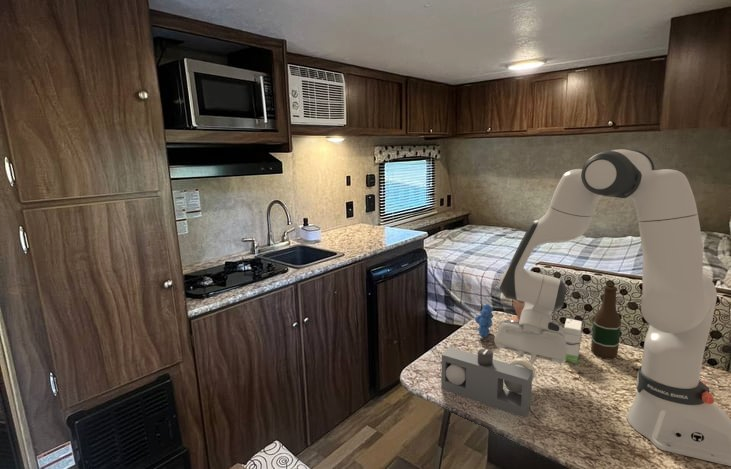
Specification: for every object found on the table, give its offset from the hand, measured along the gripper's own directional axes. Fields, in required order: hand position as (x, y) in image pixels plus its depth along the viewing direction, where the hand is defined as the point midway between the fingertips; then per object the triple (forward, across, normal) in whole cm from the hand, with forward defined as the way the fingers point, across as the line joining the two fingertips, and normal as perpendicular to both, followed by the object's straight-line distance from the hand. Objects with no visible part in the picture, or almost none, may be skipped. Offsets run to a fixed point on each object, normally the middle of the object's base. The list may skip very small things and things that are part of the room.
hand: (524, 368), depth 115 cm
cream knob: (+7, 0, -2) cm, 7 cm away
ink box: (-14, +9, +22) cm, 28 cm away
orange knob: (+10, -15, -6) cm, 19 cm away
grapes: (-14, -21, +22) cm, 34 cm away
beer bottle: (-20, +18, +28) cm, 39 cm away
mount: (+13, -8, -5) cm, 16 cm away
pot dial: (+5, -8, -13) cm, 16 cm away
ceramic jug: (-21, -7, +29) cm, 37 cm away
